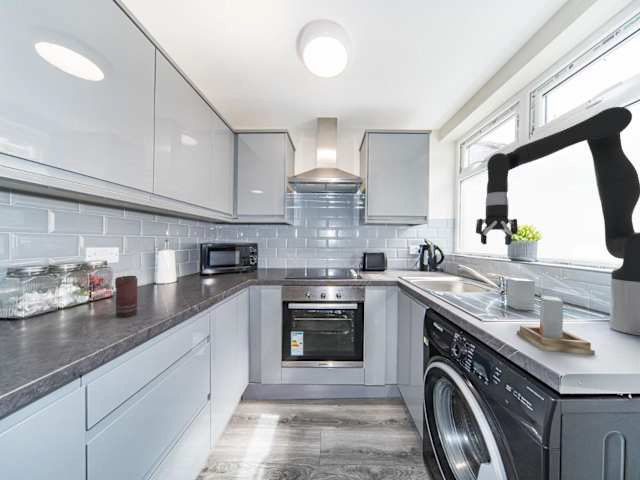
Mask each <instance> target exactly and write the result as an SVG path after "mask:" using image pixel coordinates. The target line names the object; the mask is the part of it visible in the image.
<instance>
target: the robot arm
mask: <svg viewBox="0 0 640 480" xmlns="http://www.w3.org/2000/svg"><path fill="white" fill-rule="evenodd" d="M632 119H633V114H632V112H631V110H630V109H628V108H626V107H624V106H623V107H622V106H613V107H609V108H605V109H603V110H601V111H599V112H597V113H596V114H595V115H592V116H591V117H589V118H587V119H584V120H582V121H580V122H578V123H576V124H574V125H572V126H570V127H567V128H565V129H562V130H560V131H558V132H555V133H552V134H550V135H546V136H545V137H542V138H539V139H536V140H533V141H530V142H528V143H525V144H522V145H520V146H518V147H517V148H515V149H514V150H512V151H511V152H509V153H504V152H503V153H502V152H498V153H494V154H493V155H492V156H490V158H489V159H488V160H487V165H486V166H487V167H486V168H487V185H486V197H485V219H483V218H477V219H476V224H475V233H476V234H477V235H480V243H481V244H482V245H487V243H488V242H487V239H488V237H487V234H488V233H489V232H490V231H491V230H496V231H498V230H499V231H500V230H501V231H502V232H503V233H504V234H505V236H504V242H505V243H504V244H505V245H506V246H510V245H511V244H512V237H513V235H517V234H518V233H519V232H518V231H519V230H518V218H512V219H509V179H508V178H509V171H511V170H513V169H515V168H518V167H519V166H522V165H525V164H529V163H531V162H535V161H537V160H540V159H543V158H545V157H548V156H550V155H552V154H555V153H557V152H560V151H562V150H564V149H566V148H568V147H571V146H573V145H577V144H579V143H582V142H585V141H586V143H587V146H588V147H589V150H590V154H591V157H592V162H593V170H594V175H595V181H596V182H595V183H596V188H597V191H598V196H599V200H600V204H601V210H602V212H601V213H602V215H603V216H602V217H603V223H604V224H603V225H604V240H605V247H606V251H607V252H608V253H609V255H611V256H612V257H614V258H616V259H620V260H621V259H622V264H621V266H620V267H618V268H616V269H613V270H612V271H611V275H610V276H611V278H610V279H611V281H610V305H609V306H610V309H609V313H610V314H609V328H610V329H612V330H614V331H617V332H621V333H624V334H629V335H634V336H640V231H637V232H635V229H634V224H633V213H634V211H635V208H636V206H637V204H638V202H639V199H640V178H639V175H638V172H637V169H636V167H635V166H634V164H633V163H632V162H631V160H630V159H629V158H628V157H627V155H626V154H625V151H624V150H623V146H622V139H621V132H623V131H624V130H625V129H626V128H628V126H629V125H630V124H631V123H632ZM484 224H485V225H486V226H485V227H484V228H483V225H484ZM508 224H509V225H510V227H509V226H508Z"/></svg>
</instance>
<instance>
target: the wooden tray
mask: <svg viewBox="0 0 640 480" xmlns="http://www.w3.org/2000/svg"><path fill="white" fill-rule="evenodd" d="M516 334H517V335H518V336H520V337H521V338H523V339H525V340H526V341H528V342H529V343H531V344H533V345H534V346H535V347H538V349H541V350H542V351H548V352H549V351H551V352H561V353H572V354H583V355H585V354H586V355H595V354H596V353H595V352H596V351H595V349H593V348H591V345H592V343H591V342H590V341H587V340H585V339H583V338H581V337H578V336H576V335H574V334H572V333H570V332H568V331H566V330H564V329H562V339H553V338H545V337H543V336H542V335H540V326H531V325H519V330H516Z"/></svg>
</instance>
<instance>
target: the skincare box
mask: <svg viewBox="0 0 640 480" xmlns="http://www.w3.org/2000/svg"><path fill="white" fill-rule="evenodd" d="M539 305H540V307H539V308H540V309H539V314H540V315H539V327H540V335H542V336H543V337H545V338H553V339H562V330H563V328H564V327H563V325H564V324H563V323H564V322H563V321H564V301H563V300H562V299H561V298H560V297H559V296H549V295H543V294H542V295H540V304H539Z"/></svg>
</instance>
